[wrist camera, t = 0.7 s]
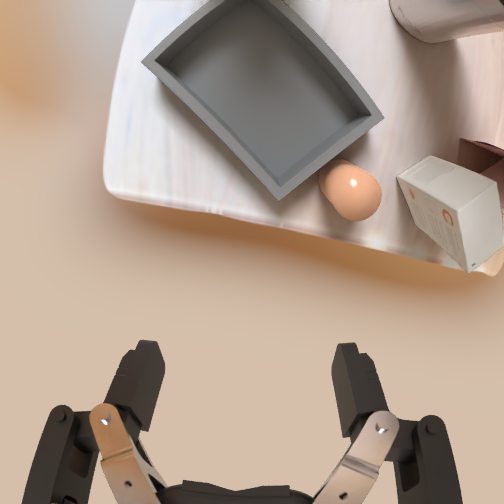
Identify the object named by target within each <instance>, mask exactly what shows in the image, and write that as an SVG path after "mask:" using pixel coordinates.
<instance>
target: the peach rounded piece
mask: <svg viewBox="0 0 504 504" xmlns="http://www.w3.org/2000/svg"><path fill="white" fill-rule="evenodd" d="M318 181H319V186H320V189H321V191H322V192H323V193H324V195H325V196H326V197H327V198H328V200H329V201H330V202H331V203H332V205H333V206H334V207H335V209H336V210H337V211H338V213H339V214H340V215H341V216H342V217H344V218H345V219H348V220H351V221H361V220H365V219H367V218H369V217H370V216H372V215H373V214H374V213H375V212H376V210H377V209H378V207H379V205H380V202H381V197H382V193H381V187H380V185H379V183H378V181H377V180H376V179H375V178H374V177H373V176H372V175H370V174H369V173H367V172H365V171H364V170H362V169H360V168H359V167H357V166H355V165H354V164H352V163H350V162H348V161H346V160H343V159H334V160H331V161H329V162H328V163H326V164H325V165H324V166H323V167H322V169H321V171H320V173H319V179H318Z"/></svg>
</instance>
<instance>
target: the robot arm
mask: <svg viewBox="0 0 504 504" xmlns="http://www.w3.org/2000/svg"><path fill="white" fill-rule="evenodd" d="M390 6H391V9H392V12H393V14H394V16H395V18H396V19H397V20H398V22H399V23H400V25H401V26H402V27H403V28H404V29H405V30H406V31H407V32H409V33H410V34H411V35H412V36H414V37H415V38H417V39H419V40H421V41H423V42H427V43H438V42H442V41H447V40H452V39H457V38H462V37H468V36H473V35H479V34H486V33H493V32H501V31H504V0H390ZM164 374H165V362H164V360H163V357H162V354H161V351H160V348H159V346H158V343H157V342H156V341H148V340H140V341H139V342H138V345H137V347H136V349H135V350H129V351H128V352H127V353H126V354H125V356H123V358H122V360H121V362H120V364H119V368H118V369H117V371H116V375H115V376H114V379H113V381H112V383H111V386H110V388H109V391H108V393H107V396H106V398H105V400H104V402H103V403H102V404H99V405H97V406H95V407H94V408H93V409H92V411H81V412H73V411H72V409H71V408H70V407H68V406H66V405H59V406H57V407H55V408H54V409H52V411H51V412H50V414H49V417H48V420H47V422H46V425H45V427H44V430H43V433H42V436H41V439H40V441H39V444H38V447H37V450H36V453H35V457H34V460H33V463H32V466H31V469H30V473H29V477H28V480H27V484H26V488H25V492H24V496H23V501H22V504H88V499H89V494H90V489H91V484H92V480H93V475H94V471H95V466H96V462H97V458H98V454H99V451H100V452H101V455H102V458H103V460H101V467H102V469H103V472H104V474H105V477H106V479H107V481H108V484H109V486H110V488H111V490H112V492H113V494H114V497H115V499H116V501H117V503H118V504H362V502H363V501H364V499H365V498H366V496H367V495H368V493H369V491H370V490H371V488H372V486H373V484H374V483H375V481H376V479H377V477H378V475H379V473H378V471H379V468H380V466H381V465H382V463H383V461H393V464H394V470H395V478H396V486H397V495H398V504H463V502H462V496H461V490H460V484H459V480H458V474H457V470H456V465H455V461H454V457H453V453H452V448H451V445H450V441H449V438H448V434H447V430H446V427H445V424H444V422H443V420H442V419H441V418H439V417H438V416H435V415H428V416H425V417H423V418H422V419H421V420H420V421H409V420H402V419H399V418H397V417H396V416H395V415H394V414H392V413H391V412H390V411H389V409H388V406H387V403H386V400H385V396H384V393H383V390H382V387H381V383H380V381H379V377H378V374H377V373H376V368H375V365H374V362H373V360H372V359H371V358H370V357H369V356H368V355H367V353H361V354H359V352H358V348H357V345H356V344H355V343H341V344H338V345H337V349H336V352H335V356H334V360H333V364H332V380H333V385H334V390H335V396H336V400H337V407H338V412H339V418H340V424H341V430H342V436H343V438H345V437H350V439H351V445H350V446H349V448H348V450H347V451H346V453H345V454H344V456H343V457H342V459H341V460H340V462H339V463H338V465H337V466H336V468H335V469H334V470H333V472H332V473H331V475H330V476H329V477H328V479H327V480H326V481H325V483H324V484H323V485H322V486H321V488H320V489H319V490H318V491H317V493H316V494H315V495H314V497H313V498H312V497H311V496H309V495H307V494H305V493H302V492H299V491H296V490H291V489H289V488H290V487H289V485H284V486H260V487H255V488H251V489H245V490H239V491H232V490H229V489H225V488H222V487H219V486H216V485H213V484H209V483H203V482H194V481H187V480H183V483H182V484H180V485H174V486H170V487H168V486H167V484H166V483H165V481H164V480H163V478H162V477H161V476H160V474H159V473H158V472H157V470H156V469H155V467H154V465H153V463H152V462H151V460H150V458H149V456H148V454H147V452H146V450H145V448H144V446H143V444H142V442H141V440H140V438H139V433H140V430H142V431H147V432H148V431H149V427H150V424H151V420H152V416H153V413H154V409H155V405H156V402H157V398H158V395H159V391H160V388H161V384H162V381H163V377H164Z"/></svg>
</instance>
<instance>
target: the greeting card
mask: <svg viewBox="0 0 504 504" xmlns="http://www.w3.org/2000/svg"><path fill="white" fill-rule="evenodd" d="M462 139H464V138H462ZM464 140H467V139H464ZM467 141H469V142H471V143H474V144H476V145H478V146H481V147H483V148H485V149H487V150H489V151H491V152H494V153H496V154H498V155H500V156H502V157H504V150H503V149H501V148H498V147H496V146H493V145H491V144H488V143H484V142H479V141H471V140H467ZM479 174H480V175H483V176H485V177H487V178H489V179H492V180H494V181H496V182H497V187H498V193H499V199H500V206H501V207H502V208H504V158H503V159H502V160H500V161H499V162H497V163H495V164H494V165H492V166H491V167H489V168H488V169H486V170H484V171H483V172H481V173H479Z"/></svg>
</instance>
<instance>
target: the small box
mask: <svg viewBox="0 0 504 504" xmlns="http://www.w3.org/2000/svg"><path fill="white" fill-rule="evenodd" d="M396 178H397V180H398V182H399V185H400V187H401V189H402V192H403V194H404V197H405V199H406V202H407V204H408V207H409V209H410V212H411V214H412V217H413V220H414V222H415V225H416V226H417V227H419V228H420V229H421V230H422V231H423V232H424V233H426V234H427V235H428V236H429V237H430V238H432V239H433V240H434V241H435V242H436V243H437V244H438V245H439V246H440V247H441V248H442V249H443V250H445V251H446V252H447V253H448V254H449V255H450V256H451V257H452V258H453V259H454V260H455V261H456V262H457V263H458V264H459V265H460V266H461V267H462V268H463V269H464V270H465V271H466V272H467V273H470V272H471V271H473V270H474V269H476V268H477V267H478V266H480V265H481V264H482V263H483V262H485V261H486V260H487V259H488V258H490V257H491V256H492V255H493V254H494V253H495V252H496V251H498V250H499V249H500V248H501V247H502V246H503V245H504V229H503V220H502V212H501V206H500V199H499V193H498V187H497V182H496V181H494V180H492V179H489V178H487V177H485V176H483V175H480V174H478V173H476V172H473V171H471V170H469V169H466V168H464V167H461V166H459V165H456V164H454V163H451V162H448V161H445V160H443V159H440V158H437V157H434V156H431V155H430V156H428V157H426V158H425V159H423V160H421V161H420V162H418V163H417V164H415V165H413V166H412V167H410V168H409V169H407V170H405V171H404V172H402V173H401V174H399V175H398V176H396Z"/></svg>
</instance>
